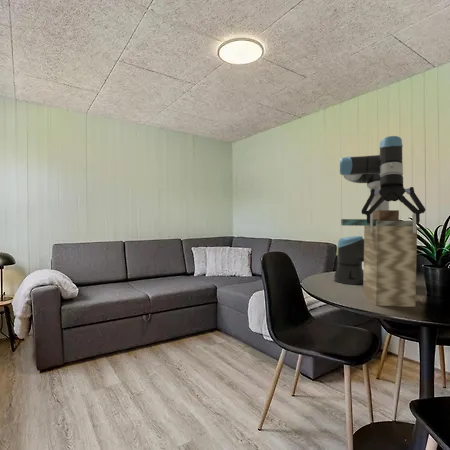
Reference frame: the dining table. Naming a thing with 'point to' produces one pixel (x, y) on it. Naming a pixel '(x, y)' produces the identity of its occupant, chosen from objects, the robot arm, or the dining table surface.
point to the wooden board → (390, 264)
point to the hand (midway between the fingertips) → (392, 232)
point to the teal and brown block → (377, 216)
